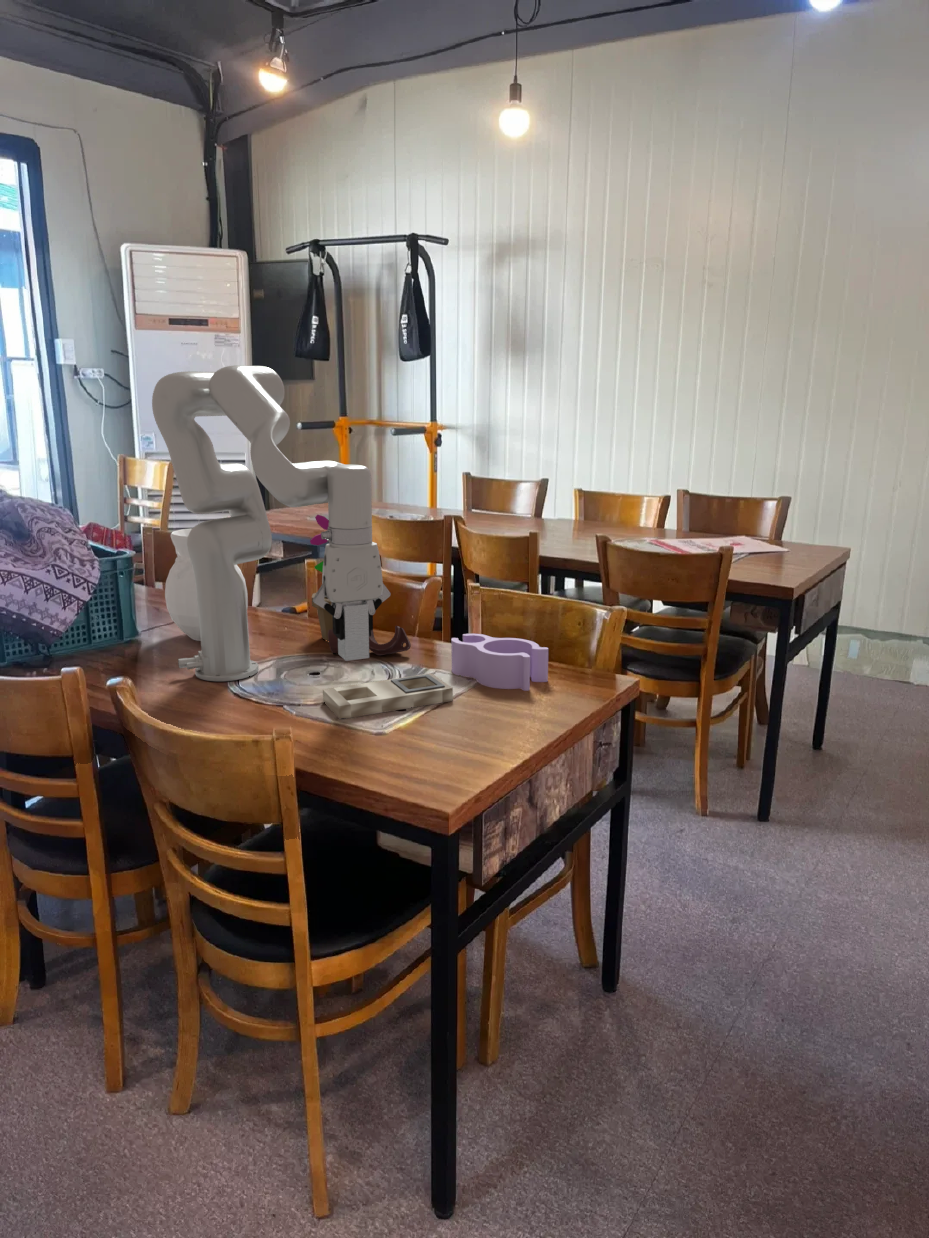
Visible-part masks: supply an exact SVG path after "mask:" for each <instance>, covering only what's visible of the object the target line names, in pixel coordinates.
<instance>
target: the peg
mask: <svg viewBox="0 0 929 1238" xmlns="http://www.w3.org/2000/svg"><path fill="white" fill-rule="evenodd" d="M341 614H342V618H343V620H344V639H343V640H340V639H338V655H339V656H340V657H341V658H342V659H343V660H344V661H346V662H348V661H355V660H362V659H363V660H364V659H370V650H369V620H368V604H367V603H366V602H364V601H357V602H347V603H343V607H342V612H341Z"/></svg>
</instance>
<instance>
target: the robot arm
mask: <svg viewBox="0 0 929 1238" xmlns="http://www.w3.org/2000/svg"><path fill="white" fill-rule="evenodd" d="M156 382H157V383H156V384H155V386H154V389H153V392H152V396H151V397H152V398H151V408H152V414H153V418H154V421H155V422H156V423H155V424H156V426H157V428H158V431H159V433H160V434H161V436H162V438H163V441H164V443H165V445H166V447H167V450H168V454H169V457H170V461H171V464H172V468H173V472H174V475H175V479H176V481H177V486H178V489H179V493H180V496H181V500H182V501H183V505H184V506H185V507H186V510H188V511H189V512H191V513H193V514H195V515H209V514H216V513H222V512H228V513H229V517H228V516H227V517H220V518H215V519H209V520H204V521H202V522H199V523H198V524H196V525H195V526H193V527H192V528H193V529H192V530H191V531H190V533H189V535H188V538H187V547H188V552H189V556H190V559H191V563H192V566H193V571H194V575H195V582H196V592H197V601H198V614H199V626H200V638H201V641H200V647H201V650H198V651H197V652H198V653H197V654H196V655H193V657H183V658H178V659H177V662H178V668H179V669H184V668H186V670H193V669H195V670H194V671H195V672H194V673H195V677H196V678H198V679H200V680H203V681H208V682H230V681H231V682H233V681H237V680H243V679H247V678H250V677H252V676H254V675H256V674H257V673H258V672H259V663H257V661H254V660H253V659H252V660H251V650H250V649H251V648H250V637H249V636H250V635H249V624H248V623H249V621H248V608H247V604H246V591H245V586H244V583H243V580H242V579H241V577H240V576H239V574H238V573H237V571H236V569H235V567H234V565H237V566H238V565H239V564H244V563H248V562H254V561H257V560H261V559H262V558H265V556H267V555H268V553H269V552H270V550H271V549H272V548H271V547H272V543H273V535H272V530H271V526H270V523H269V518H268V514H267V511H266V507H265V504H264V503H265V502H264V500H263V496H262V493H261V489H260V487H259V483H258V480H259V482H260V483H261V484H262V486H263V487H264V488H265V489H266V490H267V491H268V492H269V493H270V494H271V496H273V498H275V500H277V501H278V502H279V503H280V504H283V505H285V506H286V507H289V508H301V507H308V506H313V505H321V504H327V508H328V513H327V514H328V515H327V516H328V520H329V527H328V529H327V530H324V531H321V532H320V534H321V538H322V539H326V540H328V541H327V542H329V543H325V547H324V548H325V549H324V555H323V573H322V572H321V573H322V577H321V578H322V579H321V583H322V584H321V586H320V587H319V589H318V590H317V591H316V592H317V593H316V592H315V593H316V595H315V596H314V598H313V602H314V603H315V604H317V605H319V606H320V607H322V608H324V609H325V610H326V611H327V612H329V613H330V614H331V615H332V621H333V634H334V635H336V637H337V638H338V639H340V640H343V639H344V620H343V618H342V614H341V612H342V607H343V603H347V602H357V601H364V602H366V603H367V604H368V620H369V637H370V636H371V630H373V631H374V615H375V614H376V611H377V610H378V609H379V607H380V606H381V605H382V604H383V602H385V601H386V600H387V599H388V598H390V597H391V592H390V590H389V589H388V588H387V586H386V585H385V584H384V582H383V581H384V580H383V572H382V564H381V563H382V562H381V557H380V551H379V547H378V543H377V542H374V541H373V515H372V513H373V509H372V508H373V507H372V503H373V502H372V473H371V470H370V469H369V468H368V466H365V465H361V464H344V463H341V462H337V461H335V460H334V461H333V460H327V459H326V460H325V459H324V460H316V461H314V460H313V461H304V462H303V461H302V462H294V463H292V461H290V460H289V459H288V458H287V456H285V455H284V453H283V452H282V451H281V450H280V449H279V447H278V445H279V444H280V443H281V442H282V441H283V439H285V437H286V436H287V434H288V432H289V430H290V426H291V420H290V419H291V418H290V416H289V415H288V412H286V411H285V410H284V409H283V408H282V407H281V405H282V404H283V401H284V400H285V386H284V382H283V381H282V378H281V377H280V375H279V374H278V373H277V371H275V370H274V369H272V368H270V367H267V366H264V365H227V366H224V367H221V368H219V369H217V370H216V371H190V370H188V371H178V372H173V373H168V374H166V375H164V376H163V377H161V378H160V379H159V380H158V381H156ZM222 416H224V417H227V418H228V419H229V420H230V422H231V423H233V424H234V425H235V427H236V429H238V431H240V432H241V433H242V436H244V437H245V438H246V439H247V440H248V442H249V443H250V462H251V464H252V465H251V466H252V469H253V471H254V474H255V475H254V474H253V472H252V471H251V470H250V469H249V468H248V467H247V466H245V465H243V464H242V463H239V462H237V463H236V462H225V463H220V462H219V461H218V458H217V455H216V452H215V448H214V445H213V442H212V439H211V438H210V436H209V434H208V433H207V432H206V430H205V429H204V428H203V427H202V426H201V425H200V424H199V423H198V422H196V420H195V418H196V417H222ZM257 479H258V480H257ZM324 597H327V598H328V599H329V600H330V601H331V602H332V603H331V605H330V604H329V603H327V602H326V601H324ZM249 676H250V677H249Z"/></svg>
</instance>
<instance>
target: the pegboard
mask: <svg viewBox="0 0 929 1238" xmlns="http://www.w3.org/2000/svg"><path fill="white" fill-rule="evenodd" d="M322 701H324V702H325V704H326V705H327V706H328V707H329V708H330V709H329V708H328V707H327V706H326V705H325V704H324V705H325V706H326V707H327V708H328V709H329V710H330V711H331V712H332V711H333V712H334V713H335V714H334V713H333V712H332V713H333V714H334V715H335V716H336V717H337V718H338V719H339V718H340V719H339V720H342V719H341V718H346V719H351V718H357V717H362V716H363V717H364V716H368V715H375V714H380V713H387V712H393V711H394V712H395V711H399V710H405V709H411V707H412V708H418V707H424V706H429V705H435V704H440V703H448V702H453V701H454V689H453V687H452V686H450V685H449V684H447V683H446V682H445V681H443V680H442V679H441V678H439V677H438V676H436V675H435V674H433V672H431V673H423V674H418V675H410V676H409V675H408V676H404V677H397V678H390V679H384V680H383V679H382V680H377V681H370V682H369V681H368V682H364V683H357V684H350V685H349V684H348V685H344V686H343V685H342V686H337V687H331V688H329V687H328V688H325V689H324V688H323V689H322ZM324 702H323V703H324ZM423 705H424V706H423ZM417 706H418V707H417Z"/></svg>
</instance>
